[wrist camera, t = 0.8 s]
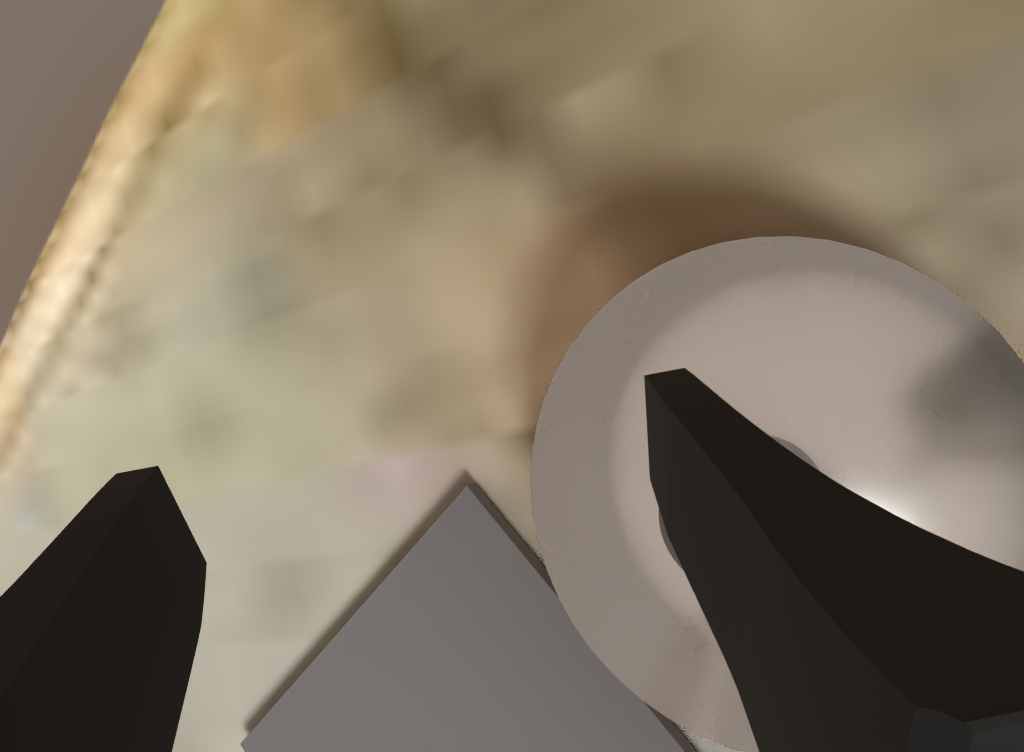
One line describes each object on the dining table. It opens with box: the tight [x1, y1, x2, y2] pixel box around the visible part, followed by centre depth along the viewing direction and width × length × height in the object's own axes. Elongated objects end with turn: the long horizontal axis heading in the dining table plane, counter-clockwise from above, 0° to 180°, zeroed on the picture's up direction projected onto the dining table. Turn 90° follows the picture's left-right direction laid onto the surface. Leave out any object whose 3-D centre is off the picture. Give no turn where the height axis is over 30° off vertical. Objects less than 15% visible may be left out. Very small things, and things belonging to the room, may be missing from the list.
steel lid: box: [531, 236, 1024, 752], centre depth 20 cm, size 13×13×4 cm
